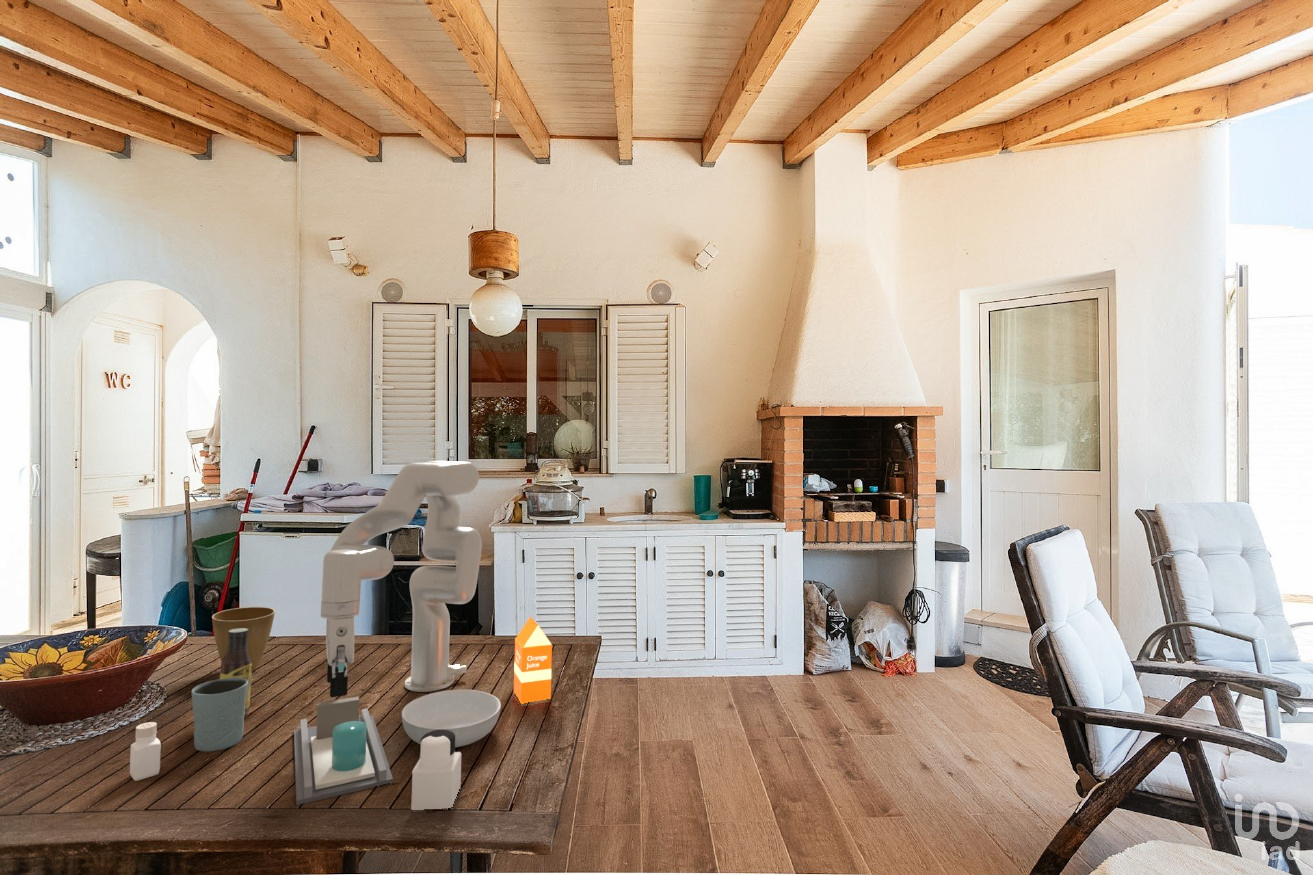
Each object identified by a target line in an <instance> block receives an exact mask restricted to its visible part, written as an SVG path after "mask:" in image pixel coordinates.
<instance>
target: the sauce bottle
mask: <svg viewBox="0 0 1313 875" xmlns="http://www.w3.org/2000/svg"><path fill="white" fill-rule="evenodd" d="M248 631H249V630H248V629H247V628H238V629H232V630H229V631H228V638H229V643H228V652H227V653H226V655H225V656H224V658H223V659H222V661H221V663H220V673H219V679H225V678H243V679H246V680H248V690H247V698H246V703H245V715H244V716H246V715H247V714H248V713H249V710H250V705H251V689H252V686H251V685H252V672H253V671H252V662H251V660H250V656H249V653H248V649H247V636H248V634H249V633H248Z"/></svg>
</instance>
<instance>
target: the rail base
mask: <svg viewBox="0 0 1313 875" xmlns="http://www.w3.org/2000/svg"><path fill="white" fill-rule="evenodd" d="M359 721H362V722H365V723H366V724H367V731H366V742H367V746H368V749H369V753H370V757H371V760H372V764H373V768H374V771H375V777H371V778H366V779H362V780H357V781H353V782H348V783H344V784H339V785H335V786H330V787H326V788H321V789H317V790H315V781H314V770H313V759H312V748H311V737H314V736H316V731H317V725H314V726H309V727H308V718H304V719H300V727H299V728H297V729H293V730H294V731H293V743H294V744H293V746H294V770H295V777H294V778H295V797H296V798H295V801H296V802H295V803H296V806H299V805H303V804H307V803H312V802H315V801H321V800H325V799H328V798H329V799H330V798H333V797H337V796H343V795H347V794H350V793H351V794H352V793H354V792H359V791H363V790H368V788H369V789H373V788H376V787H375V786H377V787H381V786H380V785H382V786H384V785H383V784H386V785H388V784H387V783H390V782H393V783H394V778H393V775H392V772H391V768H390V764H389V761H388V759H387V755H386V753H385V750H384V746H383V744H382V740H381V736H380V734H379V730H378V728H377V725H376V722H375V721H376V720H375V718H374V716H373V715H370V712H369V708H367V707H366V708H362V709H361V717H359ZM390 784H391V783H390ZM372 787H373V788H372Z"/></svg>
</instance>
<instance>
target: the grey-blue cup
mask: <svg viewBox="0 0 1313 875" xmlns="http://www.w3.org/2000/svg"><path fill="white" fill-rule="evenodd" d="M247 690H248V680H246V679H243V678H225V679H220V678H218V679H215V680H210V681H206V682H203V683H200V684H198V685H196V686H195V687H193V688H192V689H191V703H192V714H193V727H194V731H193V741H194V742H193V745H194V749H195V750H197V751H200V752H214V751H221V750H225V749H227V748H231V747H233V746H236V745H237V744H239V743H240V742H241V741H242V739H243V737H244V729H245V728H244V727H245V716H246V715H245V703H246V698H247Z"/></svg>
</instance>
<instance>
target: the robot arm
mask: <svg viewBox="0 0 1313 875" xmlns="http://www.w3.org/2000/svg"><path fill="white" fill-rule="evenodd" d="M479 479H480V474H479V470H478V468H477V466H476V465H475V464H474V463H472V462H470V461H451V460H450V461H449V460H429V461H424V462H410V463H408V464H406V465H404V466H403V467H402V468H401V469H400V471H399V472H398V474H397V476H396V477H395V478H394V480H393V482H392V484H391V485H390V487H389V489H388V490H387V491H386V493H385V495H384V496H383V498H382V499H381V501H380V503H379V504H378V505H376V506H375V507H373V508H371V509H369V510H368V511H366V512H365V513H364V514H363V513H362V515H360V516H359V517H357V518H355V519H354V520H353V521H351V522H350V523H349V524H348V525H346V527H345V528H344V529H343V530H342V531H341V533H340V535H338V537H337V539H336V541H335V542H334V543H333V545H332V546H331V549H330V551H327V552H326V553H325V554H324V557H323V561H322V562H323V563H322V579H321V580H322V582H321V583H322V584H321V602H320V603H321V604H320V617H321V618H323V619H326V624H325V625H326V626H325V628H326V630H325V631H326V632H325V649H326V659H327V662H328V663H327V670H326V671H327V674H326V676H327V677H326V683H329V684H330V686H329V687H330V688H329V697H330V698H337V697H344V696H347V695H348V687H349V686H348V685H349V684H348V683H349V682H348V681H349V680H348V678H349V675H348V663H350V664H351V665H352V664H353V663H354V662H355V638H356V637H355V634H356V633H355V630H356V629H355V627H356V625H355V623H356V622H355V617H357V616H358V615H360V612H361V611H360V610H361V609H360V608H361V607H360V606H361V590H362V589H361V588H362V581H369V580H370V581H371V580H374V581H375V580H380V579H383V578H384V577H386V576H387V575H389V574H390V572H392V570H393V567H394V564H395V557H394V554H393V553H392V551H391V550H390V549H388V548H386V547H385V546H379V545H372V544H371V545H368V544H366V543H368V542H369V541H370V540H372V539H374V538H375V537H378V536H380V535H382V534H385V533H386V534H387V533H389V532H392V531H395V530H398V529H400V528H403V527H405V526H407V525H408V524H410V523H411V522H412V520H413V519H414V517H415V515H416V514H417V511H418V510H419V508H420V507H421V504H422V503H423V501H424V499H426V501H427V502H426V503H427V517H426V523H425V528H424V534H423V540H422V547H421V548H422V554H423V556H424V557H425V558H426V559H428V560H431V561H437V562H438V561H439V562H451V563H453V562H454V563H456V566H446V565H423V566H420V567H418V568H416V569H415V570H414V571H413V572H412V573H411V575H410V579H409V592H410V594H409V595H410V598H411V606H412V627H411V628H412V630H411V631H412V632H411V636H412V637H411V662H410V663H411V664H410V676H409V677H407V678H406V679H405V680H404V687H405V689H407V690H409V691H412V692H416V693H417V692H419V693H424V692H425V693H427V692H437V691H440V690H441V691H442V690H444V689H446V688H448V687H450V686H451V685H453V684H454V682H455V675H457V674H459V675H460V674H466V673H467V670H468V669H467V665H461V666H460V664H453V665H451V664H450V662H449V661H450V632H451V631H450V627H451V626H450V625H451V619H450V617H451V616H450V613H449V610H448V608H447V605H446V604H450V605H452V604H453V605H464V604H467V603H469V602H470V601H471V600H472V599H473V597H474V596H475V594H476V589H477V586H478V585H477V584H478V577H479V571H480V564H481V557H482V550H483V541H482V536H481V533H480V532H479V531H478V530H477V529H475V528H473V527H469V526H459V523H460V522H459V521H460V515H461V507H460V503H459V502H458V500H457V498H456V496H459V495H465V494H470V493H471V492H473V491H474V490H475V489H476V487H477V486H478V484H479Z"/></svg>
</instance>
